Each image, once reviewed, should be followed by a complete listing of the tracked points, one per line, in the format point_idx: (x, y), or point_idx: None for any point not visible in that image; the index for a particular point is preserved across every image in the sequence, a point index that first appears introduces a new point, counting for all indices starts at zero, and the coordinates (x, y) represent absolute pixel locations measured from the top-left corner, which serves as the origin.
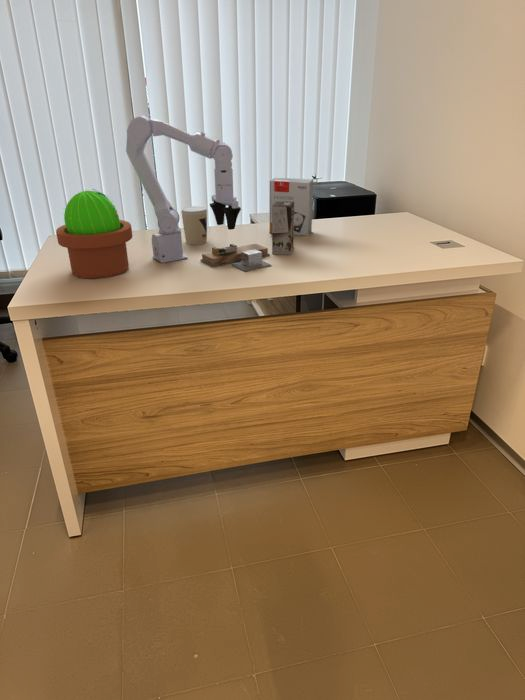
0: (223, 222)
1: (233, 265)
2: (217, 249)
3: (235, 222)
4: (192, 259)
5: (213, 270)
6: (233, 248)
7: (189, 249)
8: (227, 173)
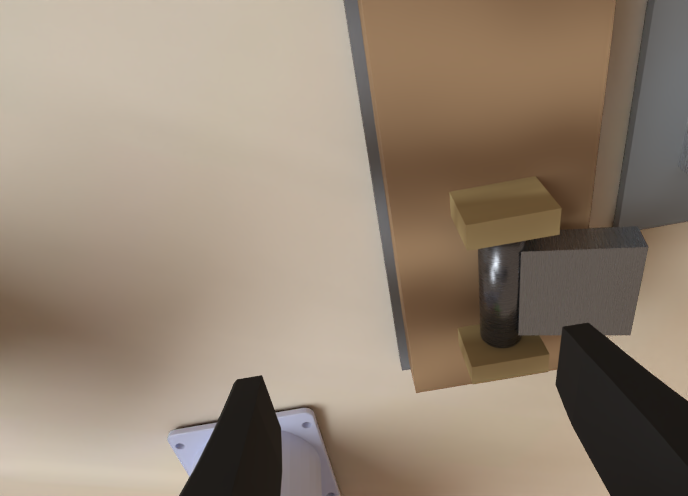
0: (257, 394)
1: (645, 227)
2: (546, 361)
3: (660, 386)
4: (338, 388)
5: (616, 339)
6: (640, 267)
7: (88, 366)
8: None
